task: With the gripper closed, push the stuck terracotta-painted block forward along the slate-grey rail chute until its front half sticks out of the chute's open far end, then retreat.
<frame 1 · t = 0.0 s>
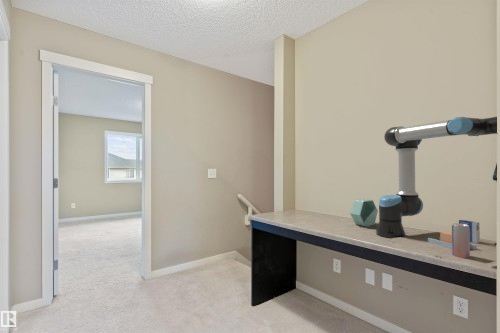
chute: (451, 248, 125), on the table
teal faceted polyhedron: (364, 224, 177), on the table
block: (450, 239, 125), point 4 cm above the table, slide at 0.0 cm
beverage can: (461, 259, 111), on the table
walkman: (469, 243, 132), on the table
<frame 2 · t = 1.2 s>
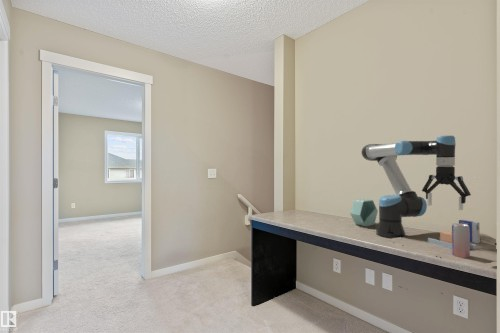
hand: (444, 207, 129), 20 cm above the table, fingers open, 13 cm apart
nothing on the table moved.
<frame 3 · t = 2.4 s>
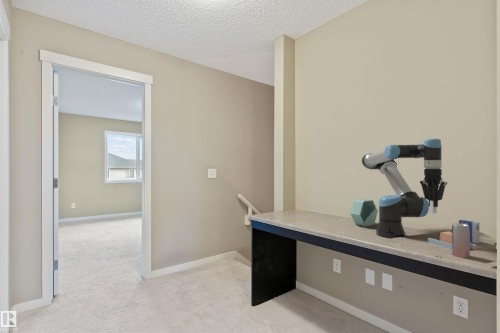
hand: (433, 212, 133), 16 cm above the table, fingers closed
nothing on the table moved.
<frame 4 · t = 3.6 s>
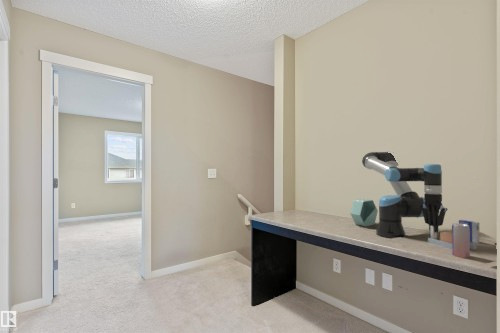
hand: (433, 238, 133), 3 cm above the table, fingers closed
nothing on the table moved.
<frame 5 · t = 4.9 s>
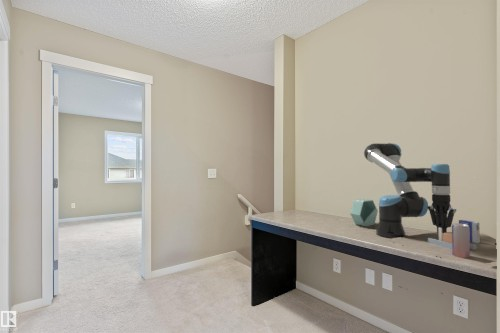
hand: (442, 240, 129), 3 cm above the table, fingers closed
block: (453, 240, 124), point 4 cm above the table, slide at 1.0 cm, touching gripper
everything else where it was.
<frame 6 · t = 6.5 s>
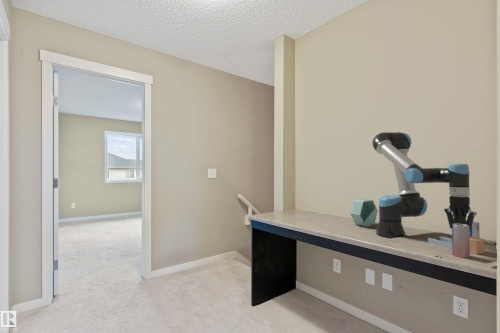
hand: (460, 244, 121), 3 cm above the table, fingers closed
block: (472, 244, 116), point 4 cm above the table, slide at 9.4 cm, touching gripper
everything else where it was.
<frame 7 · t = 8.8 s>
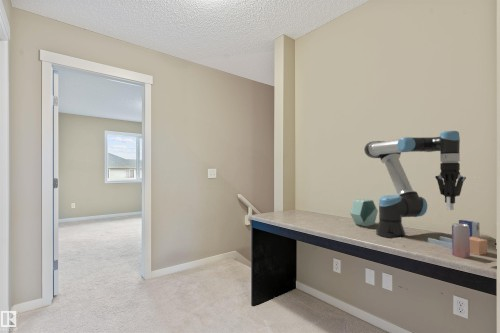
hand: (450, 209, 125), 19 cm above the table, fingers closed
block: (475, 245, 115), point 4 cm above the table, slide at 10.3 cm
everything else where it was.
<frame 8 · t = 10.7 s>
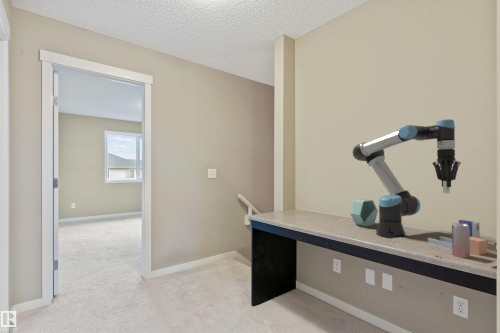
hand: (446, 193, 134), 26 cm above the table, fingers closed
nothing on the table moved.
at the end: block slide at 10.3 cm; block 0.5 cm from the target spot, point 4.4 cm above the table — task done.
